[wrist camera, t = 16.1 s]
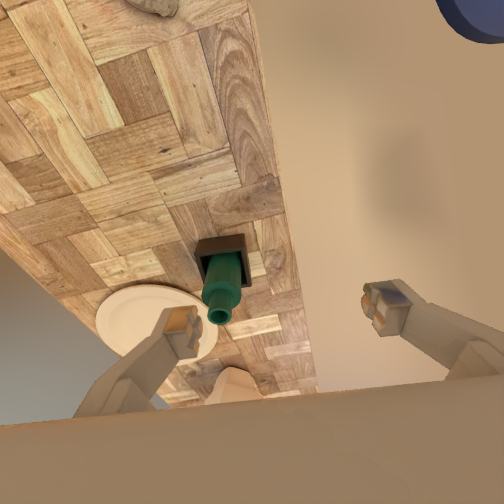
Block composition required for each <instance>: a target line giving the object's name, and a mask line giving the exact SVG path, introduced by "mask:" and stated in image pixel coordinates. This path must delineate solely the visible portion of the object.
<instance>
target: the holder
mask: <svg viewBox="0 0 504 504" xmlns="http://www.w3.org/2000/svg"><path fill="white" fill-rule="evenodd" d="M236 251H239V253H240V257H241V288H244V287H251V286H252V283H251V272H250V265H249V259H248V253H247V247H246V241H245V235H244V234H237V235H230V236H223V237H216V238H209V239H202V240H199V242H198V244H197V247H196V250H195V252H194V256H195V259H196V262H197V265H198V268H199V271H200V274H201V278H202V281H203V284H204V282H205V278H206V274H207V270H208V265H209V261H210V257H211V255H215V254H222V253H229V252H236Z"/></svg>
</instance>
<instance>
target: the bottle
mask: <svg viewBox="0 0 504 504" xmlns="http://www.w3.org/2000/svg"><path fill="white" fill-rule="evenodd" d="M201 297H202V300H203V302H204V304H205V305H206V306H207V307H209V308H208V314H207V317H208V320H209V321H210V322H211V323H212V324H216V325H224V324H226V323H228V322H229V321H230V319H231V314H232V309H233V308H235V307H236V306H237V305H238V304H239V303H240V300H241V257H240V253H239V251H236V252H229V253H222V254H215V255H211V257H210V261H209V265H208V270H207V274H206V278H205V282H204V286H203V290H202V296H201Z"/></svg>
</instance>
